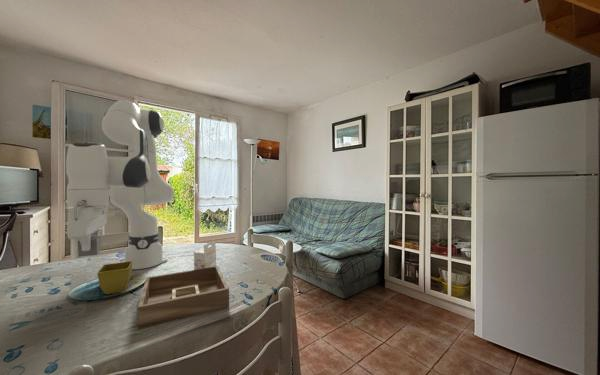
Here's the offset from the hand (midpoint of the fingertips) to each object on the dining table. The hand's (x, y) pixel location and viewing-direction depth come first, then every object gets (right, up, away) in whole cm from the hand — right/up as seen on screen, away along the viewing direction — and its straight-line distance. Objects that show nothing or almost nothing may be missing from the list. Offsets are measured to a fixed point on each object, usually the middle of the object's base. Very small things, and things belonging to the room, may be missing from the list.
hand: (90, 247), depth 67 cm
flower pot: (-7, -21, +19) cm, 29 cm away
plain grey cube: (0, -2, 0) cm, 2 cm away
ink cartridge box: (+20, -20, +31) cm, 42 cm away
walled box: (+21, -21, +12) cm, 32 cm away
